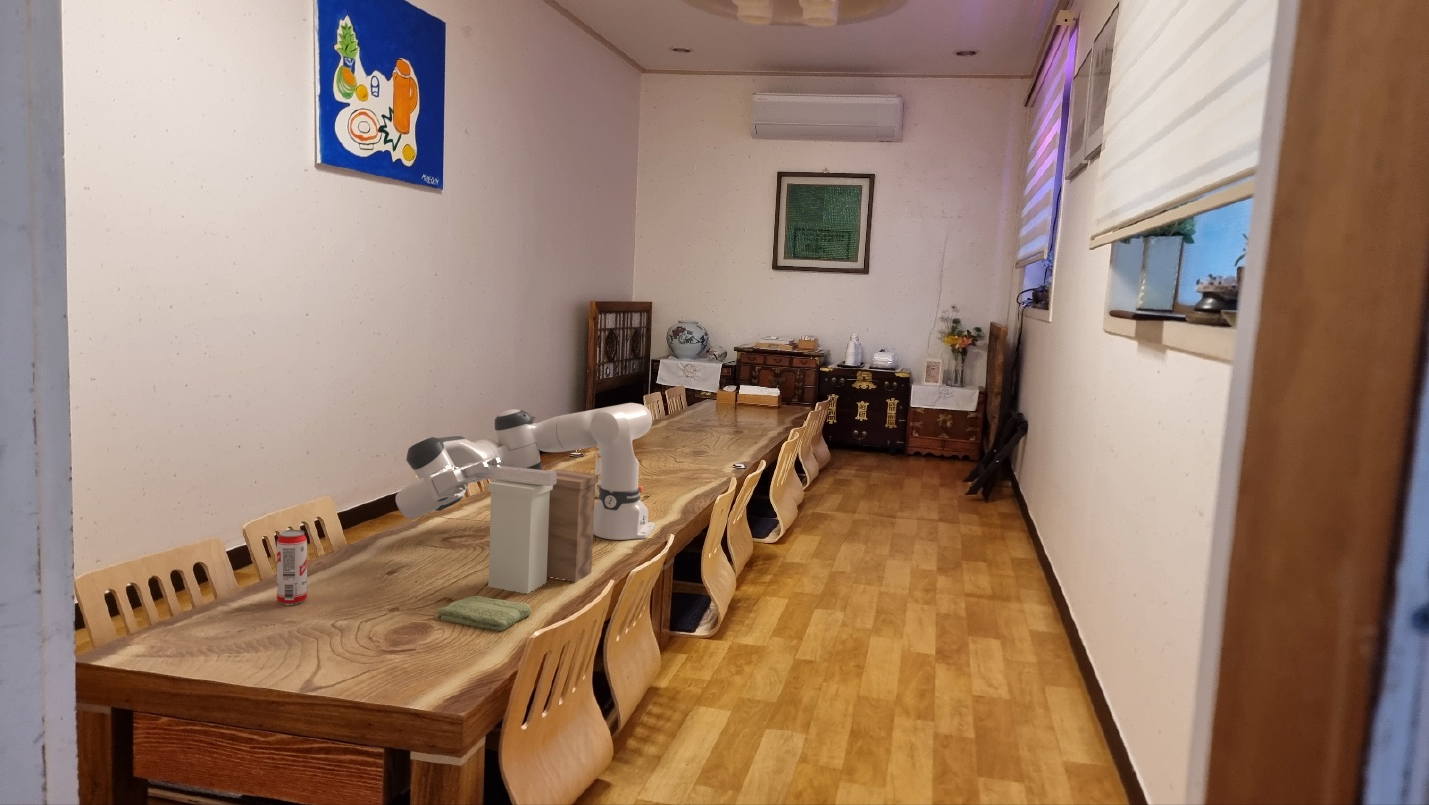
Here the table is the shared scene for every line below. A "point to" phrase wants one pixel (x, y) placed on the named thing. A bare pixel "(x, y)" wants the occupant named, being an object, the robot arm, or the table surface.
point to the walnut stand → (571, 525)
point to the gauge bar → (517, 475)
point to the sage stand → (518, 535)
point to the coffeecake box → (598, 471)
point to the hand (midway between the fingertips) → (491, 462)
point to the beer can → (291, 567)
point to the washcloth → (485, 612)
